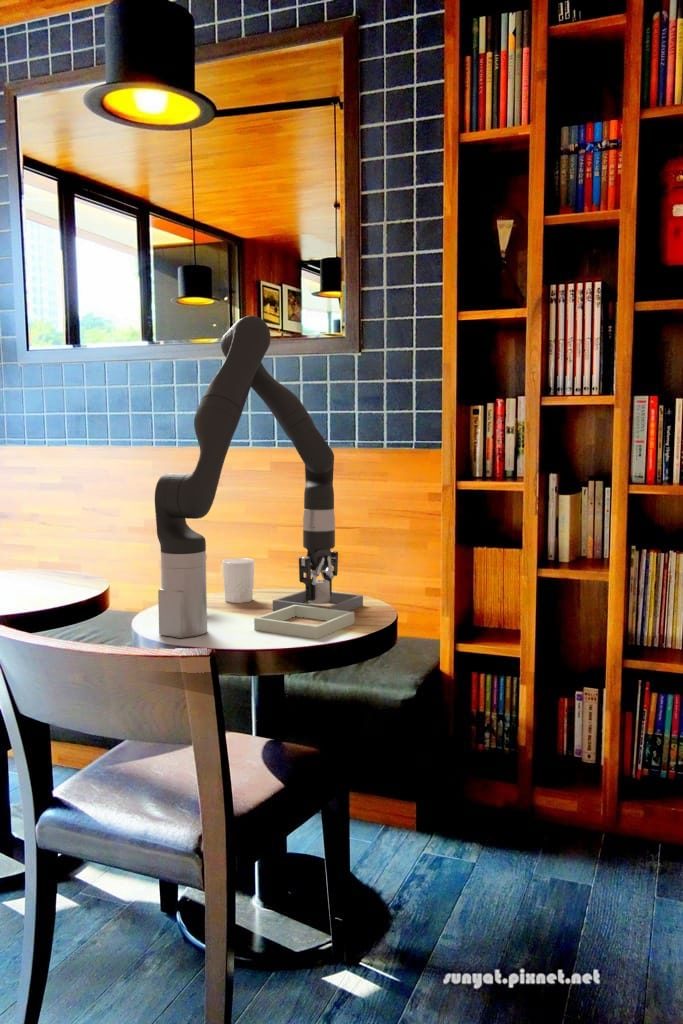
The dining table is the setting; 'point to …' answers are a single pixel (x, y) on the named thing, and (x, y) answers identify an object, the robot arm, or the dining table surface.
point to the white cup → (238, 579)
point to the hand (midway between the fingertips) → (318, 597)
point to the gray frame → (342, 599)
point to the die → (321, 592)
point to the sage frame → (278, 625)
